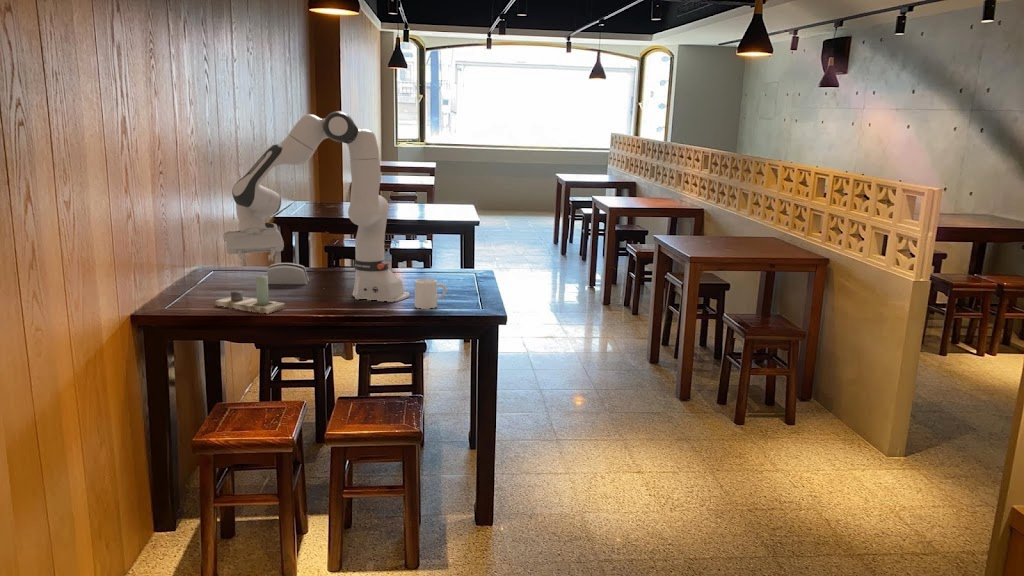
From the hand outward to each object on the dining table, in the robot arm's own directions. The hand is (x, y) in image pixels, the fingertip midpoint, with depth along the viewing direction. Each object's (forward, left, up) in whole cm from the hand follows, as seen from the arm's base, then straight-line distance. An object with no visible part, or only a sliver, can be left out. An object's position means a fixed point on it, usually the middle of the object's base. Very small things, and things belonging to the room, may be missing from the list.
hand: (257, 260), depth 268 cm
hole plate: (0, +5, -16) cm, 17 cm away
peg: (-6, +5, -16) cm, 18 cm away
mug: (-57, -27, -17) cm, 65 cm away
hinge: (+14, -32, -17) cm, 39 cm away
